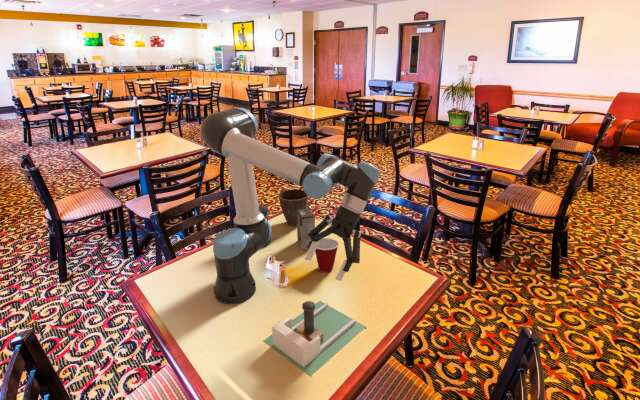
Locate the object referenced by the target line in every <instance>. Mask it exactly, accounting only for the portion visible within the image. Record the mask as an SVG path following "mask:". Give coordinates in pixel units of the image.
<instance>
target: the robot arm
mask: <svg viewBox="0 0 640 400" xmlns="http://www.w3.org/2000/svg"><path fill="white" fill-rule="evenodd" d="M255 117H256V116H254V114H253V113H251V112H250V110H248V109H246V108H244V107H232V108H228V109H225V110H221V111H217V112H213V113H211V114H209V115H207V116H206V117H204V119H203V120H202V123H201V125H200V131H199V132H200V136H201V139H202V141H203V143H204V145H206V147H208V148H209V149H210V150H211V151H213V152H215V153H217V154H218V155H220V156H223V157H225V158H226V159H227V166H228V172H229V178H230V183H231V189H232V195H233V202H234V207H235V213H236V215H235V217H234V218H233V226H234V227H231V228H228V229H224V230H222V231H220V232H219V233H217V234H216V235H215V237H214V239H213V241H212V243H213V244H212V245H213V246H212V252H213V256H214V263H215V269H216V278H215V284H214V288H213V293H214V294H213V295H214V297H215V299H216V300H217V301H218V302H220V303H222V304H230V305H231V304H240V303H243V302H245V301H247V300H249V299H251V298H252V297H253V296H254V295H255V293H256V291H257V285H256V281H255V278H254V277H253V274H252V273H251V270H250V263H249V262H250V261H249V260H250V258H251V257H253V256H254V255H255V254H256V253H257V252H258V251H259V250H260V249H261V248H263V247H265V246H264V245H265V244H266V243H267V241H268V240H269V239H270V237H271V236H272V226H271V223H270V222H269V220H268V221H267V219H266V218H265V217H264V215H263V214H262V213H261V212H259V206H260V205H259V199H258V194H257V192H258V191H257V185H256V179H255V172H254V167H256V168H259V169H261V170H263V171H265V172H268V173H270V174H272V175H275V176H277V177H279V178H280V179H284V180H286V181H288V182H289V183H290V182H291V183H292V184H294V185H296V186H300V187H302V190H304V192H305V193H306V194H307V195H308V198H311V199H315V200H316V199H321V198H323V197H325V196H326V195H328V194H329V193H330V192H331V190H332V189H333V188H334V187H335V186H337V184H339V185H341V186H343V187H345V188H347V190H346V191H345V193H344V196H343V197H342V199H341V201H340V204H341V205H339V206H338V208H337V210H336V212H335V216H334V217H333V216H331V215H329V214H326V215H325V216H324V218H323V220H322V221H321V222H320V223H318V225H315V228H314V229H313V230H312V231H311V232H310V233H309V234H308V236H310V238H311V242H310V244H309V246H308V249H307V253H306V255H305V257H304V260H305V261H312V259H313V257H314V255H315V254H316V253H315V251H316V248H317V246H318V244H319V243H318V241H319V240H321V239H323V238H327V237H329V236H331V235H332V234H334V235H336V236H338V238H341V239H342V241H343V244H344V252H345V258H346V259H343V262H342V264H341V265H340V268H339V270H338V272H337V274H336V277H335V278H334V279H335V280H336V281H340V282H342V280H343V278H344V277H345V275H346V274H345V273H348V272H350V269H351V267H352V265H353V264H360V262H361V261H360V260H361V259H360V257H361V239H362V236H363V232H362V231H361V230H360V231H359V230H356V229H355V228H356V226H357V224H358V223H359V220H360V218H361V214H362V213H363V211H364V210H365V207H366V206H367V203H368V201H369V199H370V197H371V195H372V193H373V191H374V189H375V187H376V185H377V182H378V180H379V177H380V174H381V170H380V169H379V168H378V167H376V166H375V165H373V164H371V163H369V162H365V161H360V162H359V163H358V164H357V165H356V164H353V163H351V162H348V161H346V160H344V159H342V158H341V157H338V156H336V155H333V154H330V153H327V152H325V153H323V154H322V155H321V156H320V157H319V159H318V160H317V163H316V164H314V163H311V162H308V161H306V160H304V159H302V158H299V157H297V156H295V155H292V154H290V153H288V152H285V151H283V150H280V149H279V148H276V147H274V146H271V145H270V144H267V143H264V142H262V141H260V140H257V139H255V138H254V137H255V135H256V134H257V132H258V122H257V119H256V118H255ZM330 224H331V226H329V225H330ZM327 226H328V227H327ZM325 228H326V229H325ZM351 235H352V236H353V239H352V237H351ZM271 238H272V237H271Z"/></svg>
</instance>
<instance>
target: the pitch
mask: <svg viewBox="0 0 640 400" xmlns="http://www.w3.org/2000/svg"><path fill="white" fill-rule="evenodd" d="M303 322H304V311H303V312H302V313H300V314H299V315H298V316H296V317H294V318H293V319H292V330H293V331H294V332H296V330H295V328H296V327H297V326H298V325H300V324H301V323H303ZM314 327H315V328H316V329H318V330H319V331H321V332H322V333H323V342H321V343H320V349H321V353H320V354H319V355H318V356H317V357H315V358H314V359H313V360H312V361H311V362H310V363H308V364H307V365H306V366H305V367H303V366H301V365H300V364H299V363H297V362H296V361H295V360H293V359H292V358H291V357H289V356H288V355H287V354H285V353H284V352H283V351H281V350H280V349H279V348H277V347H276V346H275V345H273V335H272V334H270V335H269V336H268V337H266V338H265V339H263V340H262V342H264V343H265V344H266V345H268V346H269V347H270V348H272V349H274V351H276V352H277V353H279V354H280V355H281V356H283V357H284V358H285V359H287V360H288V361H289V362H290V363H292V364H293V365H295V366H296V367H297V368H299V369H300V370H301V371H303V372H304V373H305V374H306V375H308V377H312V376H313V375H314V374H315V373H316V372H317V371H318V370H319V369H320V368H322V367H323V366H324V365H326V363H327V362H328V361H330V359H332V358H333V357H334V356H336V354H337V353H338V352H339V351H341V350H342V349H343V348H344V347H346V345H348V343H350V342H351V341H352V340H353V339H354V338H356V336H358V335H359V334H360V333H361V332H362V331H364V330H367V326H365V325H364V324H362V323H360V322H358V321H357V320H355V319H353V318H352V317H350V316H348V315H346V314H344V313H343V312H341V311H339V310H338V309H336V308H334V307H332V306H331V305H329V304H327V303H326V302H323V301H322V300H319V301H317V302H316V303H315V309H314Z"/></svg>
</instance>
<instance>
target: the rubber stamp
mask: <svg viewBox="0 0 640 400" xmlns="http://www.w3.org/2000/svg"><path fill="white" fill-rule="evenodd" d="M315 304H316V303H315V302H314V301H311V300H309V301H308V300H306V301H304V302H303V303H302V306H301V308H302V311H303V312H304V322H303V323H301V324H300V325H298V326H297V327H296V328H295V330H296V333H297V334H303V335H304V336H305V337H306V340H308V341H309V342H310V341H312V340H313V339H314V338H315V337H317V336H319V337H320V343H321V342H323V333H322V332H321V331H319V330H318V329H316V328H315V327H314V309H315Z"/></svg>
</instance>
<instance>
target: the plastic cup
mask: <svg viewBox="0 0 640 400" xmlns="http://www.w3.org/2000/svg"><path fill="white" fill-rule="evenodd" d="M318 243H319V244H318V246H317V248H316V251H315V253H314V254H315V256H316V257H315V258H316V263H317V266H318V270H319V271H320V272H322V273H330V272H331V271H333V270H334V266H335V261H336V256H337V251H338V249H339V246H340V242H339V241H338V240H336V239H334V238H329V237H324V238H323V239H321V240H319V241H318Z"/></svg>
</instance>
